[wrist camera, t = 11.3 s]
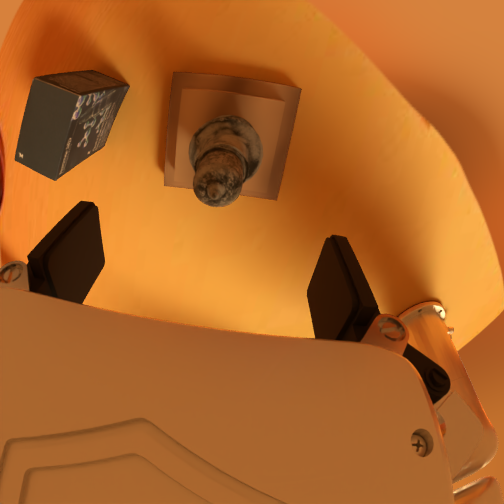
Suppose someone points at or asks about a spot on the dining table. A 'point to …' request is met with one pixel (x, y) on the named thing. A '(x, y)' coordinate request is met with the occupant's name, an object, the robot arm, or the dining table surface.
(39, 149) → the box
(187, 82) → the plinth
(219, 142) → the salt shaker
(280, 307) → the dining table surface
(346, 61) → the dining table surface
